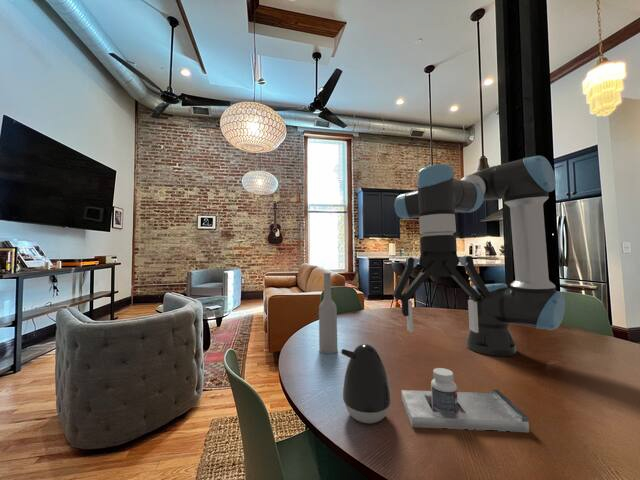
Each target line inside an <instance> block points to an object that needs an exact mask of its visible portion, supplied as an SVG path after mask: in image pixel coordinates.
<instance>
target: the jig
mask: <svg viewBox="0 0 640 480" xmlns="http://www.w3.org/2000/svg"><path fill="white" fill-rule="evenodd" d="M401 400H402V403H403V406H404V410H405V411H406V414H407V417H408V419H409V422H410V425H411V427H412V428H423V429H424V428H425V429H442V428H446V430H464V429H468V430H469V431H485V430H498V431H497V432H506V431H510V432H511V433H527V434H528V433H530V425H529V423H530V422H529V417H528V416H527V415H526V414H525V413H524V412H523V411H522V410H520V409H519V408H518V407H517V405H515V404H514V403H513V402H512V401H511V400H510V398H507V397H506V396H505V394H503V393H502V392H501V391H500V390H499V389H492V392H471V391H470V392H467V391H465V392H464V391H457V401H458V413H453V412H433V411H432V407H431V406H432V395H431V390H413V389H412V390H411V389H410V390H407V389H406V390H405V389H401ZM430 405H431V406H430ZM447 428H448V429H447ZM474 429H475V430H474ZM464 431H465V430H464ZM510 432H509V433H510Z"/></svg>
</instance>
